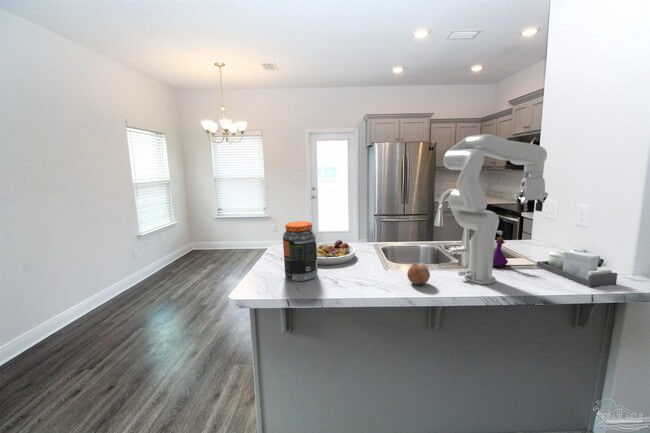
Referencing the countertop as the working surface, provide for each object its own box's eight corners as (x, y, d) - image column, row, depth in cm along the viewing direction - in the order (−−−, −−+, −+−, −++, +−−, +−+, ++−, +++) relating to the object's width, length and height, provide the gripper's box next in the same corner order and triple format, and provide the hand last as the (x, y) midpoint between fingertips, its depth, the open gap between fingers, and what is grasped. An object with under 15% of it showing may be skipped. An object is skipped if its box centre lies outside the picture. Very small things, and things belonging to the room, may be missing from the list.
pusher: (589, 283, 125) (590, 272, 124) (586, 282, 126) (588, 271, 125) (610, 281, 126) (611, 270, 125) (607, 280, 127) (609, 269, 126)
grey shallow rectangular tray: (589, 287, 123) (591, 275, 122) (536, 266, 149) (537, 256, 148) (615, 284, 125) (617, 273, 124) (558, 264, 151) (560, 254, 150)
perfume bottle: (507, 268, 147) (511, 232, 144) (491, 267, 148) (494, 232, 145) (502, 263, 154) (505, 229, 151) (486, 262, 156) (489, 229, 152)
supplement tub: (321, 271, 149) (320, 220, 144) (311, 283, 134) (309, 227, 130) (292, 269, 154) (290, 219, 149) (279, 280, 139) (276, 226, 134)
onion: (410, 287, 135) (404, 266, 137) (431, 282, 133) (424, 260, 135) (412, 288, 125) (405, 265, 128) (434, 283, 124) (426, 260, 126)
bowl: (340, 270, 151) (340, 255, 150) (292, 262, 166) (291, 248, 164) (363, 254, 176) (363, 241, 175) (320, 248, 191) (319, 236, 190)
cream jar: (556, 270, 141) (558, 255, 140) (544, 265, 148) (545, 251, 147) (568, 269, 142) (570, 254, 141) (555, 264, 149) (557, 250, 148)
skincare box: (596, 278, 131) (599, 255, 129) (588, 280, 128) (592, 257, 126) (569, 270, 140) (571, 249, 138) (561, 273, 138) (563, 251, 136)
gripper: (523, 176, 134) (519, 213, 137) (556, 175, 136) (552, 211, 140) (510, 175, 141) (507, 211, 144) (542, 174, 144) (538, 209, 147)
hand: (529, 211), depth 142 cm, fingers open, 9 cm apart
